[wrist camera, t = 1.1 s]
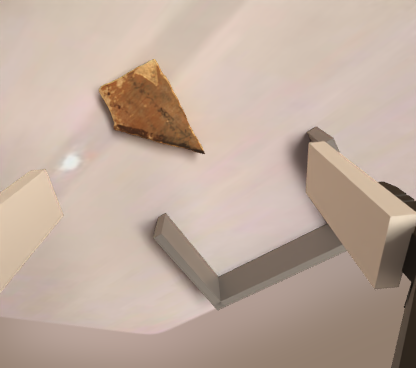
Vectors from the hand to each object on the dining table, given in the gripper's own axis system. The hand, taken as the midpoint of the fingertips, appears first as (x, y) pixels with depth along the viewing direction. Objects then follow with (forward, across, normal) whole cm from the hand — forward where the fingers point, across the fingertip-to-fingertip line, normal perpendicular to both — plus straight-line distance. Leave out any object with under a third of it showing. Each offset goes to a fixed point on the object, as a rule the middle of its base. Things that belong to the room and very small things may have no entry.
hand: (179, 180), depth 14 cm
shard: (+20, +1, 0) cm, 20 cm away
